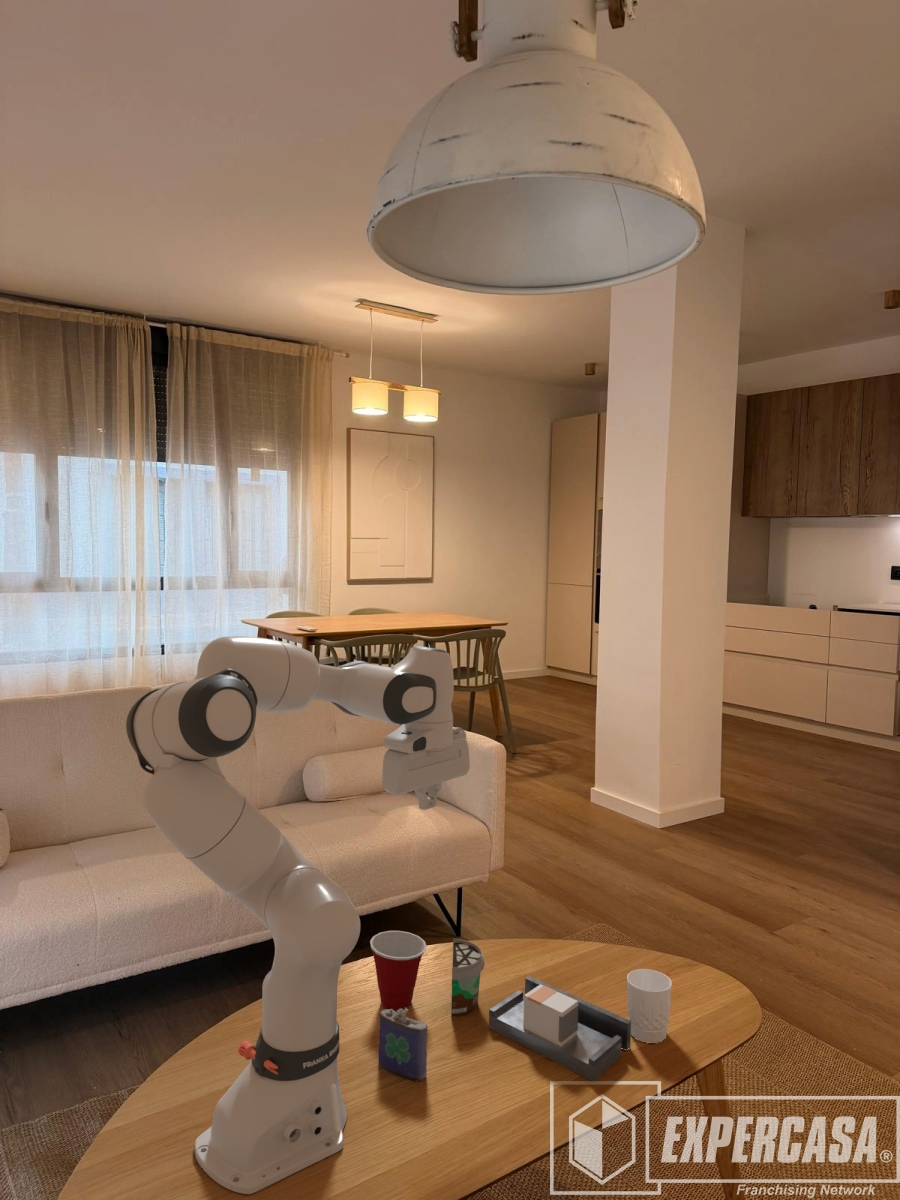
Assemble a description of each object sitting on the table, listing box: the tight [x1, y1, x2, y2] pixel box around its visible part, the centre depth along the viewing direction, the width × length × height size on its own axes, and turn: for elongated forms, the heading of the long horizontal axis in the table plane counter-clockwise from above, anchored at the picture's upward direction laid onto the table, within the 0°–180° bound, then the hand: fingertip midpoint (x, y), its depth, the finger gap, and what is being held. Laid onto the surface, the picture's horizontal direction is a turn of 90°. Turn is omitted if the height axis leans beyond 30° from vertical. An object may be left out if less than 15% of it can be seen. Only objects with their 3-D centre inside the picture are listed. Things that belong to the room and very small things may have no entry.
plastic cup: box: [369, 930, 427, 1012], centre depth 156 cm, size 11×11×12 cm
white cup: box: [626, 968, 673, 1044], centre depth 148 cm, size 8×8×10 cm
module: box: [523, 984, 578, 1047], centre depth 144 cm, size 5×8×6 cm, turn 49°
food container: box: [450, 938, 485, 1018], centre depth 156 cm, size 12×6×10 cm, turn 179°
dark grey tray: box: [488, 976, 632, 1082], centre depth 146 cm, size 12×22×5 cm, turn 49°
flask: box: [378, 1008, 429, 1083], centre depth 136 cm, size 9×3×11 cm, turn 59°
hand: (427, 807), depth 151 cm, fingers closed
